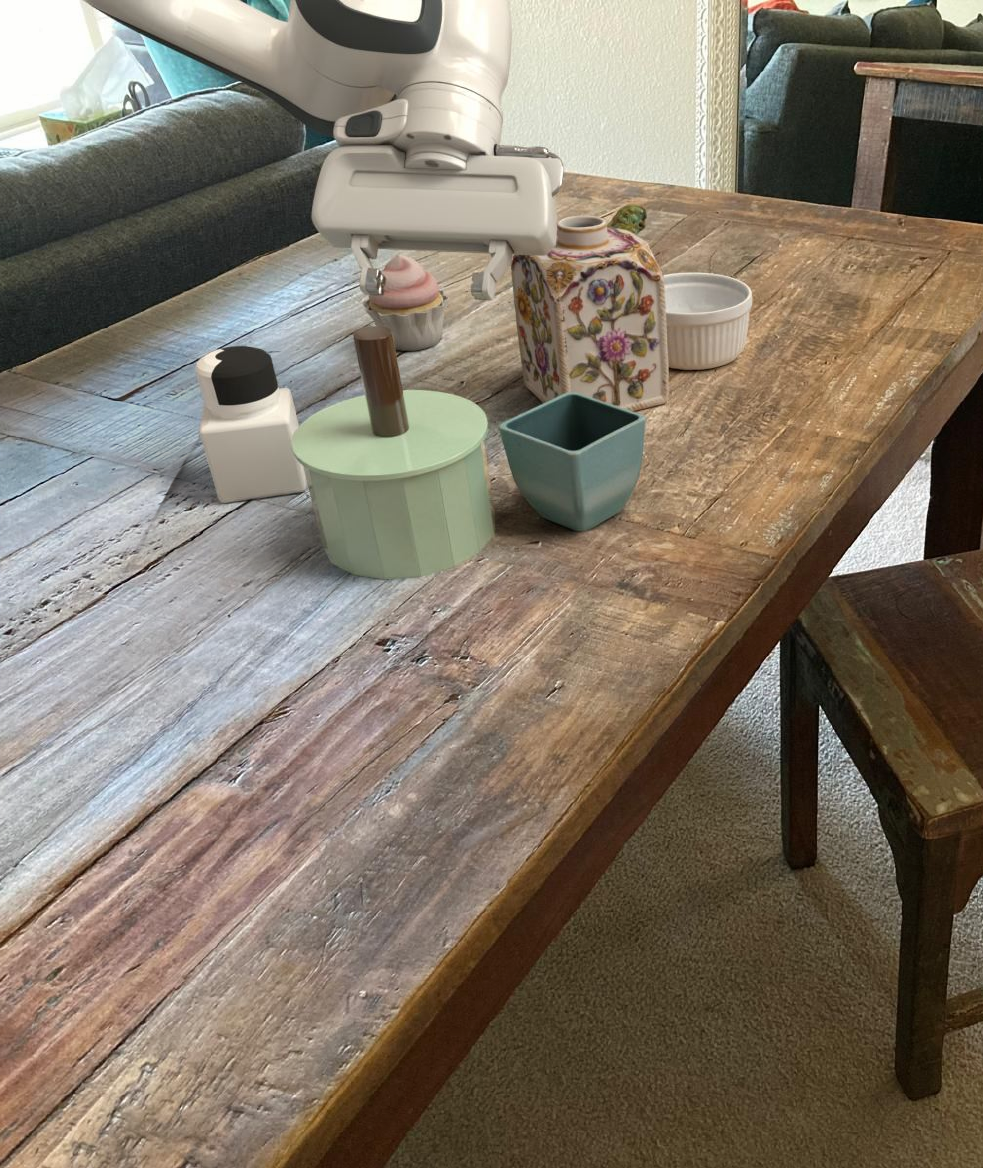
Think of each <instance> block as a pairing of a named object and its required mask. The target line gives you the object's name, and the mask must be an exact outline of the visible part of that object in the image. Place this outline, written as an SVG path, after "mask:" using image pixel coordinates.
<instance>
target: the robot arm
mask: <svg viewBox="0 0 983 1168" xmlns="http://www.w3.org/2000/svg"><path fill="white" fill-rule="evenodd" d="M82 1H83V2H85V3H86V4H88V5H89V6H91V7H92V8H94V10H97V11H98V12H100V13H102V14H103V15H105V16H106V17H108V18H110V19H111V20H113V21H115V22H117V23H119V24H121V25H122V26H124V27H126V28H128V29H130V30H132V31H133V32H136V33H138V34H139V35H142V36H144V37H146V38H148V39H150V40H152V41H154V42H156V43H158V44H160V45H162V46H164V47H166V48H169V49H171V50H172V51H175V52H177V53H178V54H181V55H183V56H185V57H187V58H190V59H191V60H194V61H196V62H198V63H200V64H202V65H205V66H206V67H209V68H210V69H213V70H214V71H216V72H219V73H222V74H224V75H226V77H227V76H228V77H230V78H232V79H234V80H236V81H238V82H240V83H243V84H244V85H246V86H249V87H250V88H252V89H254V90H256V91H258V92H260V93H262V94H263V95H264V96H266V97H268V98H270V99H271V100H272V101H274V102H275V104H278V105H279V106H280V107H281V108H283V109H284V110H285V111H287V112H288V114H289V115H291V116H292V117H294V118H295V119H296V120H297V121H298V122H300V123H301V124H303V126H306V127H307V128H309V129H311V130H312V131H314V132H316V133H318V134H320V135H323V136H325V137H329V138H333V139H334V141H336V144H337V145H338V147H336V148H334V149H333V150H332V151H330V152H329V154H328V155H327V156H326V157H325V159H324V161H323V163H322V165H321V169H320V172H319V175H318V179H317V182H316V186H315V190H314V195H313V201H312V206H311V207H312V209H311V221H312V224H313V226H314V228H315V229H316V230H317V232H318V233H319V234H320V236H321V237H322V238H323V239H324V240H325V241H326V242H327V243H328V244H329V245H330V246H332V247H334V248H340V249H343V248H344V249H351V252H352V253H353V255H354V256H353V257H354V258H355V259H356V262H357V264H358V266H359V268H360V274H359V275H360V277H359V284H358V285H359V289H360V291H361V292H362V293H363V294H364V295H365V296H369V295H374V296H383V295H384V292H385V290H384V286H385V285H386V277H385V276H384V275H383V274H381V271H382V270H380V269H379V268H374V266H373V264H372V261H371V260H377V258H378V253H379V250H389V251H390V250H392V251H414V252H415V251H416V252H438V253H439V252H440V253H441V252H442V253H461V254H462V253H464V254H465V253H466V254H468V253H469V254H489V255H490V256H491V259H490V261H489V262H488V263H487V265H486V266H485V267H484V269H483V270H482V272H472V275H471V282H472V283H471V285H470V294H471V296H472V297H474V300H476V301H488V302H489V301H490V302H492V301H494V299H495V294H496V285H497V284H498V283H499V281H500V280H501V279H502V278H503V277H504V275H505V274H506V273H507V272H508V270H509V269H510V268H511V264H512V260H513V255H536V256H545V255H547V254H548V253H549V252H550V251H551V250H552V249H553V248H554V247H555V245H556V239H557V222H558V211H557V210H558V209H557V198H556V196H557V195H558V193H559V192H560V191H561V188H562V187H563V181H564V173H565V172H564V171H565V167H564V163H563V161H562V159H561V158H560V157H559V155H557V154H555V153H554V152H552V151H549V149H548V148H547V147H544V146H531V147H529V146H528V147H525V146H519V145H507V144H506V145H504V144H501V141H502V135H503V134H502V132H503V125H504V113H503V108H502V96H503V94H504V92H505V89H506V87H507V85H508V82H509V75H510V68H511V57H512V41H513V39H512V38H513V27H512V24H513V23H512V13H511V7H510V2H509V0H290V3H289V8H288V17H287V21H284V20H280V19H277V18H275V17H273V16H272V15H269V14H267V13H265V12H264V11H261V10H259V9H257V8H255V7H253V6H252V5H250V4H247V3H246V2H243V1H242V0H82Z"/></svg>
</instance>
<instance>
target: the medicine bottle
mask: <svg viewBox="0 0 983 1168" xmlns="http://www.w3.org/2000/svg"><path fill="white" fill-rule="evenodd" d="M194 371H195V375H196V378H197V382H198V385H199V388H200V389H199V390H200V392H201V395H202V400H203V407H202V413H201V418H200V423H199V428H198V434H199V438H200V441H201V444H202V449H203V452H204V455H205V457H206V461H207V464H208V468H209V471H210V474H211V475H210V476H211V478H212V481H213V485H214V489H215V492H216V495H217V498H218V501H219V502H220V503H222V504H226V503H233V502H234V503H235V502H241V501H249V500H256V499H263V498H269V497H277V496H284V495H293V494H299V493H300V494H301V493H304V492H305V491H306V490H307V480H306V476H305V472H304V468H303V465H301V464H300V463H299V462H298V461H297V459H296V458H295V457H294V454H293V451H292V447H291V440H292V436H293V434H294V432H295V430H296V429H297V428H298V427H299V426H300V424H299V420H298V416H297V413H296V412H297V411H296V408H295V403H294V399H293V395H292V391H291V389H290V388H289V387H281V388H280V387H279V382H278V379H277V374H276V371H275V366H274V362H273V358H272V356H271V354H270V353H268V352H267V351H265V350H264V349H262V348H259V347H255V346H254V347H253V346H246V345H234V346H227V347H222V348H219V349H216V350H212V351H211V352H209V353H207V354H205V355H203V356H202V357H200V358H199V359H198V361H197V362H196V364H195V365H194Z"/></svg>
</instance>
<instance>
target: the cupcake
mask: <svg viewBox="0 0 983 1168" xmlns="http://www.w3.org/2000/svg"><path fill="white" fill-rule="evenodd" d="M380 271H381V274H383V275H384V276H385V277H386V285H385V286H384V290H385V292H384V295H383V296H374V295H367V296H368V299H367V300H364V301H363V302H362V306H364V308H365V312H366V314H367V315H368V316H369V317H370V318H371V320H372V321H373V323H374V324H375V326H384V327H388V328H390V329H391V330H392V335H393V340H394V345H395V351H402V352H410V351H412V352H413V351H420V350H424V349H428V348H431V347H434V346H435V345H437V344H439V343H440V341H441V339H442V337H443V326H444V318H445V313H446V310H447V306H448V305H449V301H450V299H451V297H449V296H448V295H446V290H443V289H440V286H439V284H438V282H437V280H436V278H435V277H434V276H433V275H432V274H431V273H430V272H428V271H427V270H426V269H425V268H424V266H423V265H422V264H420V263H419V262H418V261H416V260H415V259H414V258H412V257H409V256H407V255H403V254H397V255H396V256H393V257H392V258H391V259H390V260H389V261H388V262H387V263H386V264H385V265H384V268H383V269H382V270H380Z"/></svg>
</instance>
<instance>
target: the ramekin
mask: <svg viewBox="0 0 983 1168" xmlns="http://www.w3.org/2000/svg"><path fill="white" fill-rule="evenodd" d="M663 279H664V288H665V301H666V328H667V330H666V331H667V347H668V369H674V370H675V369H676V370H684V371H693V370H694V371H697V370H708V369H715V368H718V367H721V366H725V365H727V364H730V363H732V362H733V361H735V360H736V359H737V358H738V357H739V355H740V354H741V353H742V352H743V351H744V349H745V346H746V342H747V337H748V331H749V322H750V312H751V309H752V308H753V307H752V306H753V292H752V289H751V287H750V286H749V285H747V284H746V283H745V282H743V281H741V280H740V279H737V278H734V277H732V276H728V275H723V274H718V273H710V272H692V271H691V272H676V273H675V272H674V273H667V274H664V277H663Z"/></svg>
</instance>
